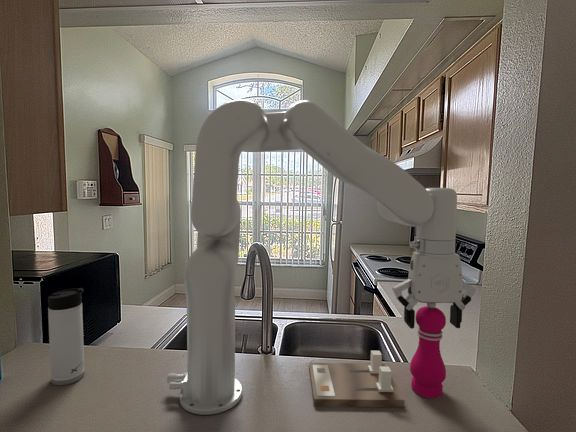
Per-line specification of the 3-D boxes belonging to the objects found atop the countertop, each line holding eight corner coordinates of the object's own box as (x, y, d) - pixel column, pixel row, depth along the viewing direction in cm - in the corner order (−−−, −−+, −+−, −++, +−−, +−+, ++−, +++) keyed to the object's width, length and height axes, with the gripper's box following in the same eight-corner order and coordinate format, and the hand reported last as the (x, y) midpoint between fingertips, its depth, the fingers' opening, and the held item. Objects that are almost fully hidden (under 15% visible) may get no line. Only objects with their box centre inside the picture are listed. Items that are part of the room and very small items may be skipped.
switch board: (314, 406, 68) (314, 398, 68) (309, 368, 82) (309, 362, 82) (404, 407, 68) (404, 399, 68) (383, 369, 82) (384, 363, 82)
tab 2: (378, 391, 70) (379, 371, 70) (375, 385, 73) (376, 365, 72) (393, 392, 70) (394, 372, 70) (389, 385, 73) (390, 365, 72)
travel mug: (83, 382, 75) (80, 293, 73) (47, 388, 72) (43, 296, 70) (88, 368, 80) (85, 285, 79) (55, 373, 78) (51, 287, 76)
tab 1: (370, 373, 77) (371, 355, 77) (367, 367, 80) (368, 350, 79) (383, 373, 77) (384, 355, 77) (380, 367, 80) (381, 350, 79)
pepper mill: (422, 402, 70) (428, 307, 68) (402, 382, 77) (406, 296, 75) (452, 397, 72) (458, 304, 70) (429, 378, 79) (434, 293, 77)
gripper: (400, 250, 68) (397, 333, 69) (486, 250, 68) (482, 333, 69) (388, 244, 75) (386, 319, 77) (466, 243, 75) (463, 318, 77)
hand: (432, 325), depth 73 cm, fingers open, 9 cm apart
